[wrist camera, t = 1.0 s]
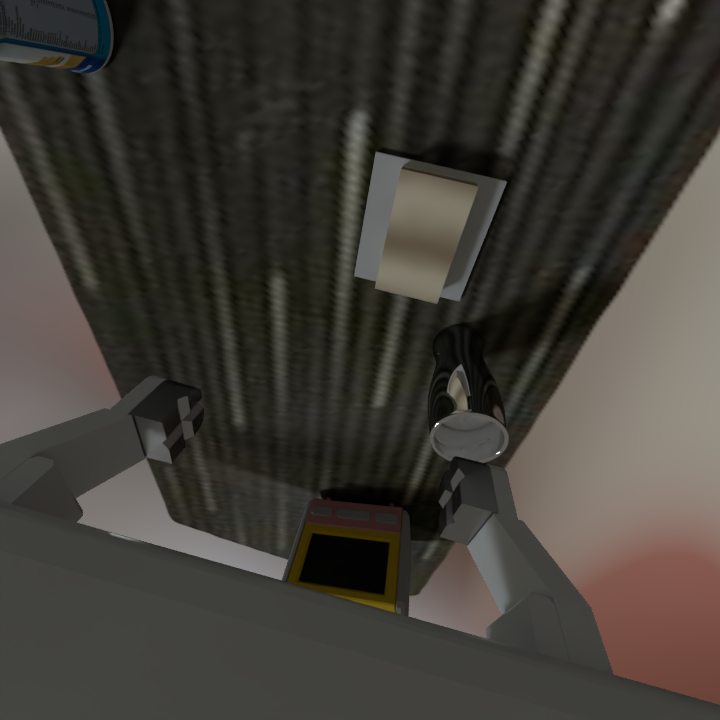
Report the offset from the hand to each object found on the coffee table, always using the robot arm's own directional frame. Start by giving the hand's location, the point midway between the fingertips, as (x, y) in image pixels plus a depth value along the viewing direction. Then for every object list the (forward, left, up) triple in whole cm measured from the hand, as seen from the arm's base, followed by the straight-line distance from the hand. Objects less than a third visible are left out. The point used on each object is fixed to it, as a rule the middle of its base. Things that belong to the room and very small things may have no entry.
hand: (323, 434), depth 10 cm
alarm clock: (+57, +7, -29) cm, 64 cm away
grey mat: (+1, +3, -29) cm, 29 cm away
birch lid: (+1, +3, -28) cm, 28 cm away
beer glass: (+13, +11, -29) cm, 33 cm away
